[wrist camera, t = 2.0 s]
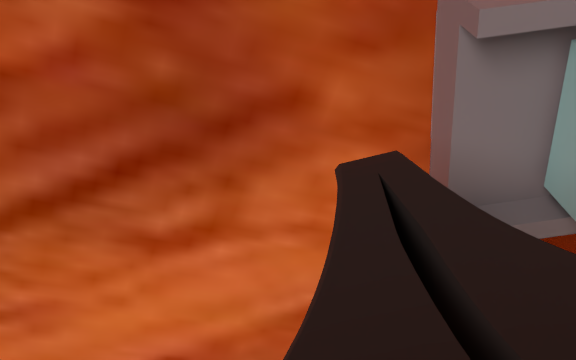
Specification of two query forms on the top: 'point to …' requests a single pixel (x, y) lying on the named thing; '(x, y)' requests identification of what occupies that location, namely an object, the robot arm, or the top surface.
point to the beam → (501, 106)
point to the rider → (565, 143)
